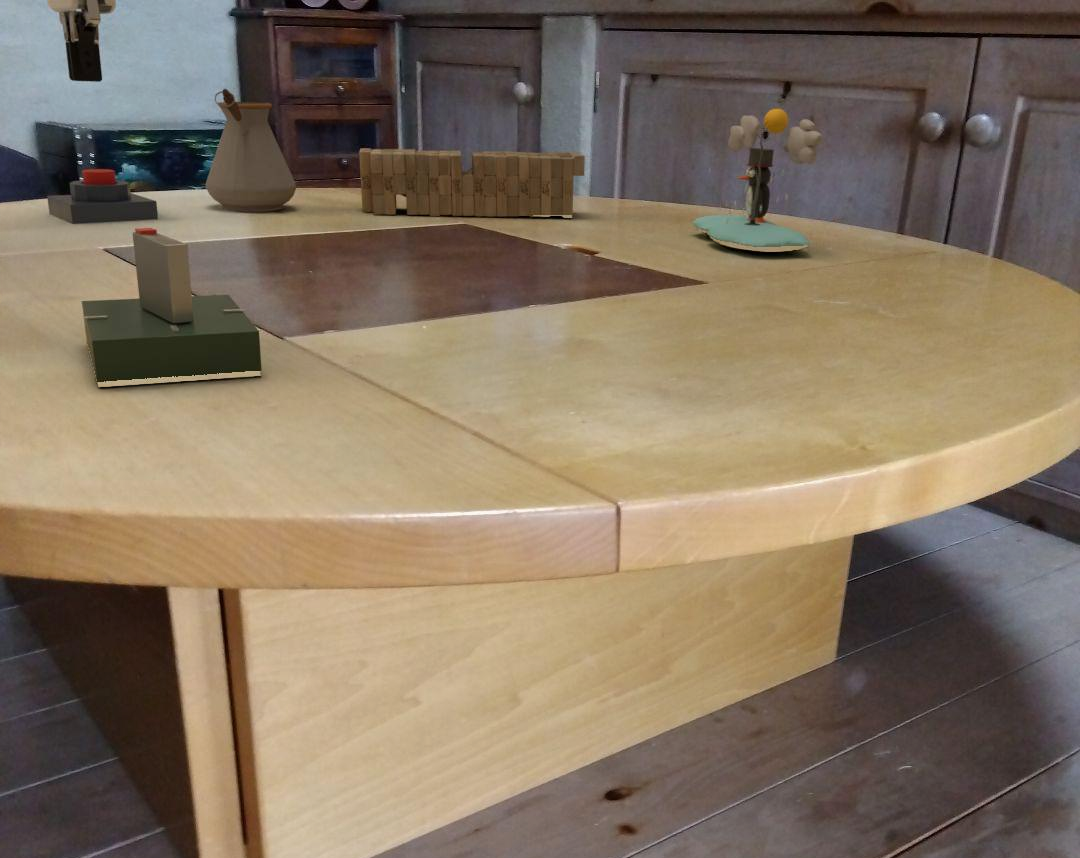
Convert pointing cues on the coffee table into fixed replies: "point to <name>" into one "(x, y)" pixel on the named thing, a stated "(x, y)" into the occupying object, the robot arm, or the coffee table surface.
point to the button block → (101, 204)
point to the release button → (99, 176)
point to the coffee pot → (248, 161)
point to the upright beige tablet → (163, 276)
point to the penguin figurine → (762, 183)
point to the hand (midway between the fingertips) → (86, 80)
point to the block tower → (469, 182)
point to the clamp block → (169, 340)
